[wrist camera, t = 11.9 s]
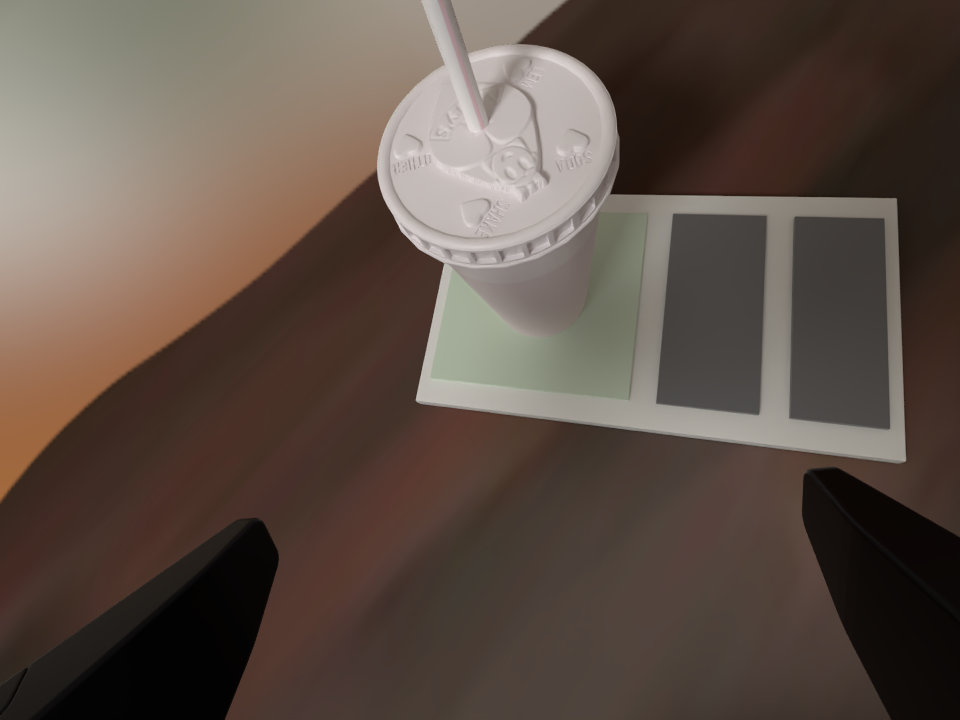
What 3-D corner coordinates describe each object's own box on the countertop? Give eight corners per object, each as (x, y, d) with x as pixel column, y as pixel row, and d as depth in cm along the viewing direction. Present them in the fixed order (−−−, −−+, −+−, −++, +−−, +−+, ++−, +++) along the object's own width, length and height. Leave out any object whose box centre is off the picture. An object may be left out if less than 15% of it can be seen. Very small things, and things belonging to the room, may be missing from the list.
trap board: (898, 463, 19) (908, 460, 18) (419, 403, 24) (414, 399, 23) (890, 205, 22) (899, 195, 21) (462, 198, 26) (458, 189, 26)
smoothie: (559, 200, 24) (488, -189, 11) (655, 306, 22) (702, -37, 9) (439, 285, 24) (235, -5, 12) (520, 400, 22) (377, 195, 9)
